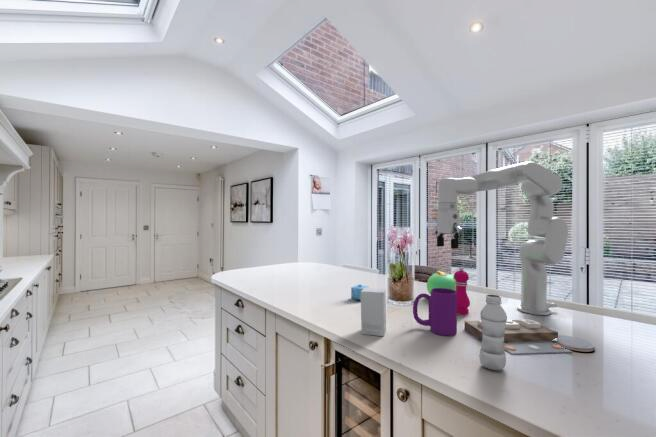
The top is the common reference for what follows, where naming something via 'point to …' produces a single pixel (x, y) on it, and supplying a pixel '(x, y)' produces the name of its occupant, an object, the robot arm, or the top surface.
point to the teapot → (357, 291)
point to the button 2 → (530, 324)
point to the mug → (439, 311)
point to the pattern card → (534, 348)
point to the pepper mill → (462, 291)
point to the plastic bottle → (493, 334)
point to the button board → (516, 333)
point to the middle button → (511, 325)
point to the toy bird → (441, 281)
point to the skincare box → (373, 311)
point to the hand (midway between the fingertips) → (447, 247)
